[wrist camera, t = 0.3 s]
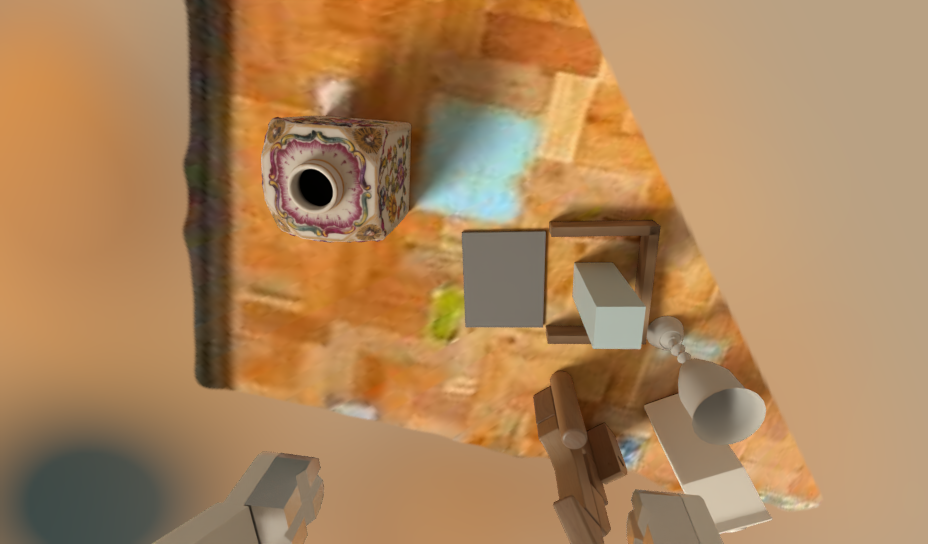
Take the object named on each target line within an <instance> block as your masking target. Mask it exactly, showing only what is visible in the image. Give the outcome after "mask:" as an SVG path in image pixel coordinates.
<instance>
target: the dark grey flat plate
mask: <svg viewBox="0 0 928 544" xmlns="http://www.w3.org/2000/svg"><path fill="white" fill-rule="evenodd" d="M545 240H546V231H499V232H462V249H463V274H464V298H465V323H466V327H543V307H544V273H545Z"/></svg>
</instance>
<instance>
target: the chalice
mask: <svg viewBox="0 0 928 544" xmlns="http://www.w3.org/2000/svg"><path fill="white" fill-rule="evenodd" d="M683 329H684V328H683V325H682V323H681V322H680V321H679V320H678V319H676V318H675V317H671V316H663V317H660V318H657V319H655V320H654V321H652V322H651V323H650V325H649V326H648V330H647V340H648V342H649V343H650V344H651V345H653V346H655V347H658V348H660V349H663V350H671V353H672V355H674V356H678V357H677V360H678V362H679V363H682V365H681V367H680V372H679V378H678V390H679V397H680V400H681V402H682V404H683V405H684V407H685V408H686V410H687V412H688V413H689V415H690V416H691V418H692V427H693V430H694V433H695V434H696V435H697V436H698V437H699V438H700V439H701V440H703V441H705V442H707V443H709V444H715V445H728V444H733V443H736V442H739V441H742V440H744V439H746V438H747V437H749V436H751V435H752V434H753V433H754V432H755V431H756V430H757V429H758V428H759V427H760V426H761V424H762V422H763V421H764V419H765V413H766V407H765V404H764V401H763V400H762V398H761V397H760V396H759V395H758V394H757V393H755V392H753V391H751V390H749V389H745V388H744V386H743V385H742V384H741V383H740V382H739V381H738V380H737V379H736V377H735V376H734V375H733V374H732V373H731V372H730V371H729V370H728V369H726V368H724V367H722V366H719V365H717V364H715V363H713V362H709V361H705V360H700V359H695V358H694V359H690V358H691V356H690V354H689V353H687V352H685V347H684V345H682V344H681V343H682V341H683Z"/></svg>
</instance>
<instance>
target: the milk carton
mask: <svg viewBox="0 0 928 544" xmlns="http://www.w3.org/2000/svg"><path fill="white" fill-rule="evenodd" d="M644 409H645V411H646V413H647V415H648V417H649V420H650V422H651V424H652V426H653V429H654V431H655V433H656V435H657V437H658V440H659V442H660V444H661V446H662V448H663V450H664V452H665V454H666V456H667V458H668V460H669V462H670V464H671V467H672V469H673V471H674V473H675V475H676V477H677V479H678V481H679V483H680V485H681V487H682V489H683V491H684V493H685V494H689V495H699V496H701V497H702V498H703V499H704V501H705V503H706V506H707V508H708V510H709V512H710V515H711V517H712V519H713V521H714V523H715V526H716V528H717V530H718V532H719V534H721V533H725V532H736V531H740V530H743V529H746V528H747V527H748V526H752V525H755V524H759V523H763V522H767V521H770V520H772V517H771V516H770V514H769V513H768V511H767V509H766V507H765V506H764V504H763V502H762V500H761V498H760V496H759V494H758V492H757V490H756V489H755V487H754V485H753V483H752V481H751V479H750V477H749V475H748V474H747V472H746V470H745V468H744V467H743V465H742V464H741V462H740V461H739V459H738V458H737V456H736V455H735V453H734V452H733V451H732V449H731V448H730V446H729V445H715V444H709V443H707V442H705V441H703V440H701V439H700V438H699V437H698V436H697V435H696V434H695V433H694V430H693V427H692V418H691V416H690V415H689V413H688V412H687V410H686V408H685V407H684V405H683V404H682V402H681V400H680V397H679V393H678V394H675V395H672V396H669V397H666V398H663V399H660V400H658V401H655V402H652V403H649V404H646V405H644Z"/></svg>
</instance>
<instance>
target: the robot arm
mask: <svg viewBox="0 0 928 544" xmlns="http://www.w3.org/2000/svg"><path fill="white" fill-rule="evenodd" d="M320 468H321V467H320V462H319V459H318V458H315V457H308V456H300V455H293V454H284V453H275V452H267V451H263V452H262V453H260V454H259V455H258V456H257V457H256V458H255V460H254V461H253V462H252V464H251V465H250V466H249V468H248V469H247V471H246V472H245V474H244V475H243V476H242V478H241V479H240V480H239V482H238V483H237V484H236V486H235V487H234V489H233V490H232V491H231V493H230V494H229V495H228V497H227V498H226V500H225V501H224V502H223V503H216V504H215V505H213V506H211V507H210V508H208V509H207V510H205V511H203V512H202V513H200V514H199V515H197V516H195V517H194V518H192V519H191V520H189V521H187V522H186V523H184V524H183V525H181V526H180V527H178V528H176V529H175V530H173V531H171V532H170V533H168V534H167V535H165V536H163V537H162V538H160V539H159V540H157V541H155V542H154V543H153V544H304V542H305V540H306V538H307V536H308V533H307V528H306V526H307V525H308V524H309V523H311V522H312V521H313V520H314V519H316V517H317V515H318V512H319V510H320V508H321V504H322V500H323V496H324V484H323V480H322V479H321V478H320V477H319V476H318V475H317V474H318V472H319V470H320ZM631 501H632V505H633V510H632V511H630V512H629V513H628V518H627V541H628V544H724V543H723V541H722V539H721V537H720V534H719V532H718V530H717V528H716V526H715V523H714V521H713V519H712V517H711V515H710V512H709V510H708V508H707V506H706V503H705V501H704V499H703V498H702V497H701V496H699V495H689V494H676V493H671V492H659V491H648V490H637V489H635V491H634V492H633V495H632V499H631Z"/></svg>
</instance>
